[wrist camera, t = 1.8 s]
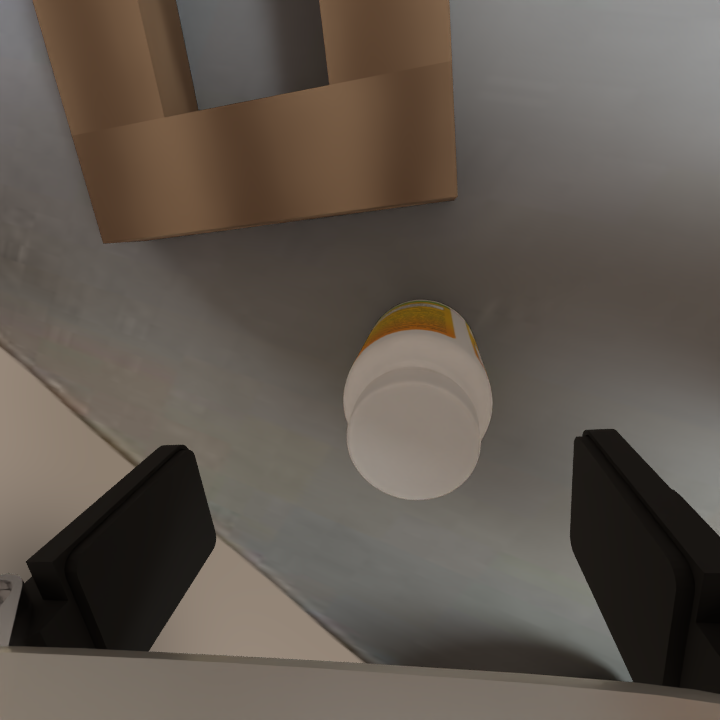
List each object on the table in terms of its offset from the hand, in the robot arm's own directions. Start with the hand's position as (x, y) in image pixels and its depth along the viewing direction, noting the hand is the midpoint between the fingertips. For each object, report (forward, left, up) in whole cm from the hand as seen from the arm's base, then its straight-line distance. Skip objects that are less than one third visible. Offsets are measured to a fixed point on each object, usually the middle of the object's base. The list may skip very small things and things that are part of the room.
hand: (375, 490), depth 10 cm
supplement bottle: (-1, 0, -12) cm, 12 cm away
